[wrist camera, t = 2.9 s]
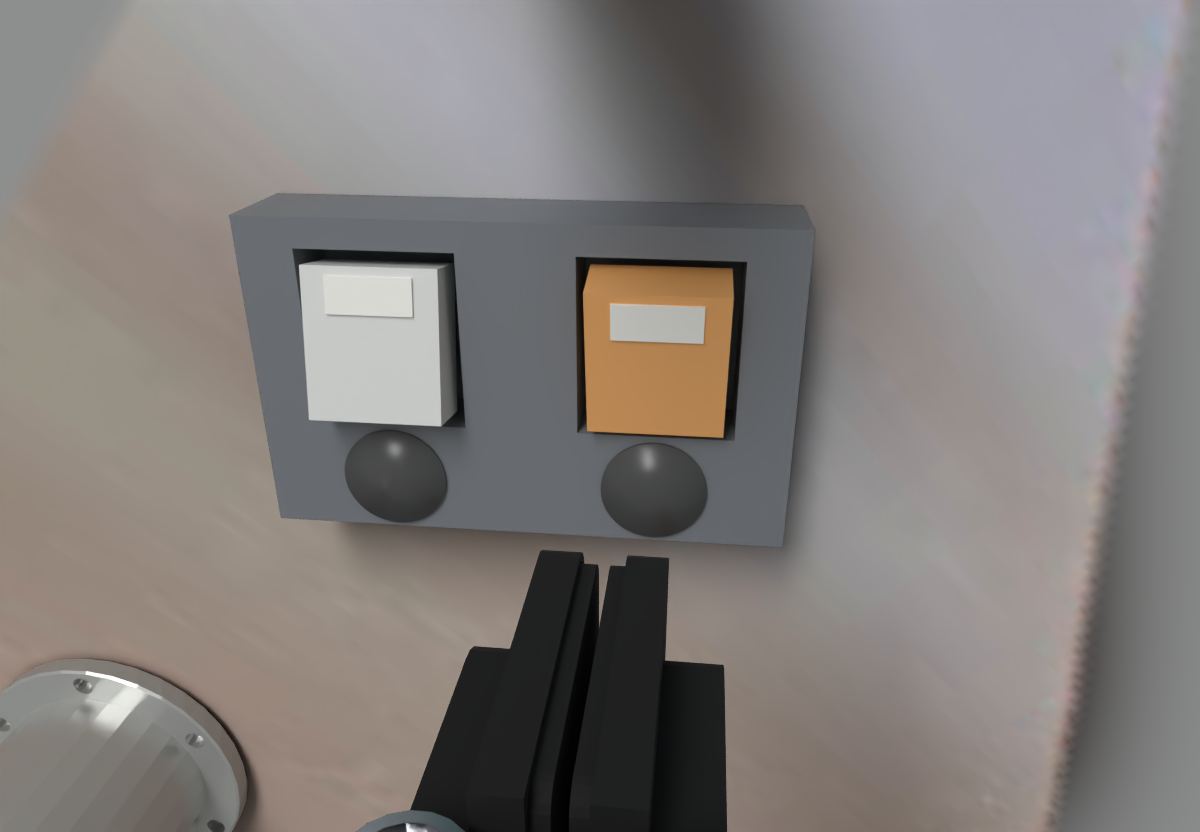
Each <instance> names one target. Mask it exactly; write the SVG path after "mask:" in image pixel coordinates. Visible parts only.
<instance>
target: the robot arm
mask: <svg viewBox="0 0 1200 832" xmlns="http://www.w3.org/2000/svg"><path fill="white" fill-rule="evenodd" d="M668 573H669V558H660V557H644V556H627V561H626V566H610V570H609V576H608V581H607V587H606V593H605V598H604V604H603V610H602V615H601V621H600V627H599V568H598V565H595V564H584V556H583V553H581V552H565V551H549V550H542V551H541V552H540V554H539V557H538V560H537V563H536V566H535V570H534V573H533V576H532V579H531V583H530V586H529V589H528V592H527V596H526V599H525V602H524V605H523V609H522V612H521V615H520V618H519V622H518V625H517V628H516V631H515V635H514V638H513V641H512V644H511V648H510V649H503V648H490V647H476V646H474V647H473V648H472V649H471V650H470V651H469V654H468V656H467V658H466V660H465V663H464V666H463V668H462V671H461V674H460V677H459V679H458V682H457V685H456V687H455V690H454V693H453V696H452V698H451V701H450V704H449V706H448V709H447V712H446V715H445V717H444V720H443V723H442V725H441V728H440V731H439V733H438V736H437V739H436V742H435V744H434V747H433V750H432V752H431V755H430V758H429V761H428V763H427V766H426V769H425V771H424V774H423V777H422V780H421V782H420V785H419V788H418V790H417V793H416V796H415V799H414V801H413V804H412V807H411V809H410V810H409V811H403V812H397V813H391V814H387V815H385V816H383V817H380V818H378V819H376V820H373V821H371V822H369V823H367V824H366V825H364V826H363V827H361V828H360V829H359V830H357V831H356V832H727V802H726V745H725V688H724V666H723V665H716V664H703V663H690V662H676V661H665V650H666V624H667V598H668ZM246 800H247V779H246V774H245V770H244V765H243V762H242V760H241V758H240V755H239V753H238V751H237V749H236V747H235V745H234V743H233V742H232V740H231V739H230V737H229V736H228V734H227V733H226V732H225V730H224V729H223V727H222V726H221V724H220V723H219V722H218V721H217V720H216V719H215V718H214V717H213V716H212V715H211V714H210V713H209V712H208V711H207V710H206V709H205V708H204V707H203V706H202V705H200V704H199V703H198V702H196V701H195V700H194V699H193V698H191V697H190V696H189V695H187V694H186V693H185V692H183V691H182V690H180V689H178V688H177V687H175V686H173V685H171V684H170V683H168V682H166V681H164V680H163V679H161V678H159V677H156V676H154V675H151V674H149V673H147V672H144V671H142V670H139V669H137V668H134V667H130V666H126V665H122V664H118V663H115V662H111V661H102V660H94V659H85V658H84V659H63V660H57V661H53V662H49V663H45V664H41V665H39V666H36V667H34V668H32V669H30V670H28V671H26V672H24V673H23V674H21V675H20V676H19V677H18V678H17V679H16V680H14V681H13V682H12V683H11V684H10V685H9V686H8V687H7V688H6V689H5V690H4V691H3V692H2V693H1V694H0V832H232V831H233V829H234V827H235V826H236V824H237V822H238V820H239V819H240V817H241V815H242V812H243V809H244V806H245V803H246Z"/></svg>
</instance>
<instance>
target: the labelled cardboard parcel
mask: <svg viewBox="0 0 1200 832" xmlns="http://www.w3.org/2000/svg"><path fill="white" fill-rule="evenodd" d="M733 303H734V290H733V268H705V267H672V266H639V265H606V264H591V265H590V268H589V272H588V276H587V280H586V284H585V288H584V291H583V310H584V343H585V376H586V409H587V431H593V432H614V433H635V434H656V435H676V436H697V437H718V438H723V434H724V420H725V407H726V394H727V381H728V368H729V355H730V342H731V329H732V316H733Z"/></svg>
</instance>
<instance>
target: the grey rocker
mask: <svg viewBox="0 0 1200 832" xmlns="http://www.w3.org/2000/svg"><path fill="white" fill-rule="evenodd" d="M299 274H300V289H301V305H302V320H303V335H304V350H305V366H306V381H307V396H308V412H309V420H318V421H339V422H360V423H381V424H402V425H423V426H442V425H443V424H444V423H445V422H446V421H447V420H448V419H450V418H451V417H452V416H453V415H454V414H455V413H456V412H457V371H456V325H455V278H454V263H432V262H399V261H366V260H333V259H323V260H319V261H314V262H310V263H305V264H300V265H299Z"/></svg>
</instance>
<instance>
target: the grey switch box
mask: <svg viewBox="0 0 1200 832" xmlns="http://www.w3.org/2000/svg"><path fill="white" fill-rule="evenodd" d="M229 217H230V223H231V229H232V235H233V241H234V247H235V252H236V258H237V264H238V270H239V276H240V282H241V288H242V293H243V299H244V305H245V311H246V317H247V323H248V328H249V334H250V340H251V346H252V352H253V358H254V363H255V369H256V375H257V381H258V387H259V393H260V398H261V404H262V410H263V416H264V422H265V428H266V434H267V439H268V445H269V451H270V457H271V463H272V469H273V474H274V480H275V486H276V492H277V498H278V504H279V509H280V515H281V518H290V519H307V520H324V521H341V522H358V523H375V524H392V525H409V526H426V527H443V528H460V529H477V530H494V531H511V532H528V533H545V534H562V535H579V536H596V537H613V538H630V539H647V540H664V541H681V542H698V543H715V544H732V545H749V546H766V547H783V538H784V529H785V519H786V509H787V500H788V490H789V480H790V470H791V461H792V451H793V441H794V432H795V422H796V412H797V402H798V393H799V383H800V373H801V364H802V354H803V344H804V334H805V325H806V315H807V305H808V296H809V286H810V276H811V266H812V257H813V247H814V237H815V229H814V227H813V225H812V223H811V220H810V218H809V216H808V214H807V212H806V210H805V208H804V206H797V205H754V204H711V203H668V202H625V201H582V200H540V199H497V198H454V197H411V196H368V195H326V194H283V193H277V194H275V195H272V196H270V197H268V198H266V199H264V200H261V201H259V202H257V203H255V204H253V205H250V206H248V207H246V208H244V209H242V210H239V211H237V212H235V213H233V214H231V215H229ZM323 259H333V260H366V261H399V262H432V263H454V278H455V325H456V371H457V412H456V413H455V414H454V415H453V416H452V417H451V418H450V419H448V420H447V421H446V422H445V423H444V424H443V425H442V426H423V425H402V424H381V423H360V422H339V421H318V420H309V412H308V396H307V381H306V366H305V350H304V335H303V320H302V305H301V289H300V274H299V265H300V264H305V263H310V262H314V261H319V260H323ZM591 264H606V265H639V266H672V267H705V268H733V290H734V303H733V316H732V329H731V342H730V355H729V368H728V381H727V394H726V407H725V420H724V434H723V438H718V437H697V436H676V435H656V434H635V433H614V432H593V431H587V409H586V376H585V343H584V310H583V291H584V288H585V284H586V280H587V276H588V272H589V268H590V265H591Z"/></svg>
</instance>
